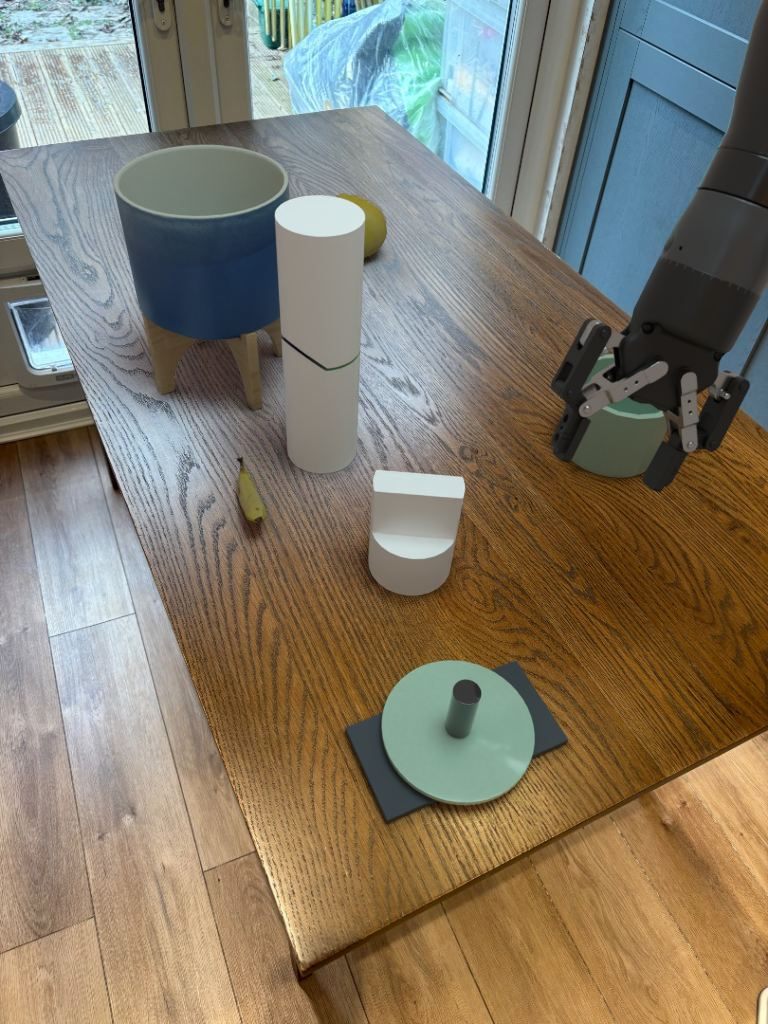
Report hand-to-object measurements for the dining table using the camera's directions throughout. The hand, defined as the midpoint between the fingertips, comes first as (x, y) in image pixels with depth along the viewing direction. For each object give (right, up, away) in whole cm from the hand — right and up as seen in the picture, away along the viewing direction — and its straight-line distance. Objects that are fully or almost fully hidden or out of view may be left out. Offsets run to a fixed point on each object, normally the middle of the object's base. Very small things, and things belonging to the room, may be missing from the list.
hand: (606, 473), depth 59 cm
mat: (-11, -23, +8) cm, 27 cm away
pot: (+11, +6, +38) cm, 40 cm away
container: (-25, +5, +34) cm, 43 cm away
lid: (-11, -22, +8) cm, 26 cm away
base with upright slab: (-15, -9, +22) cm, 28 cm away
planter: (-39, +16, +44) cm, 61 cm away
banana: (-33, -3, +26) cm, 42 cm away
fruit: (-23, +41, +68) cm, 82 cm away
